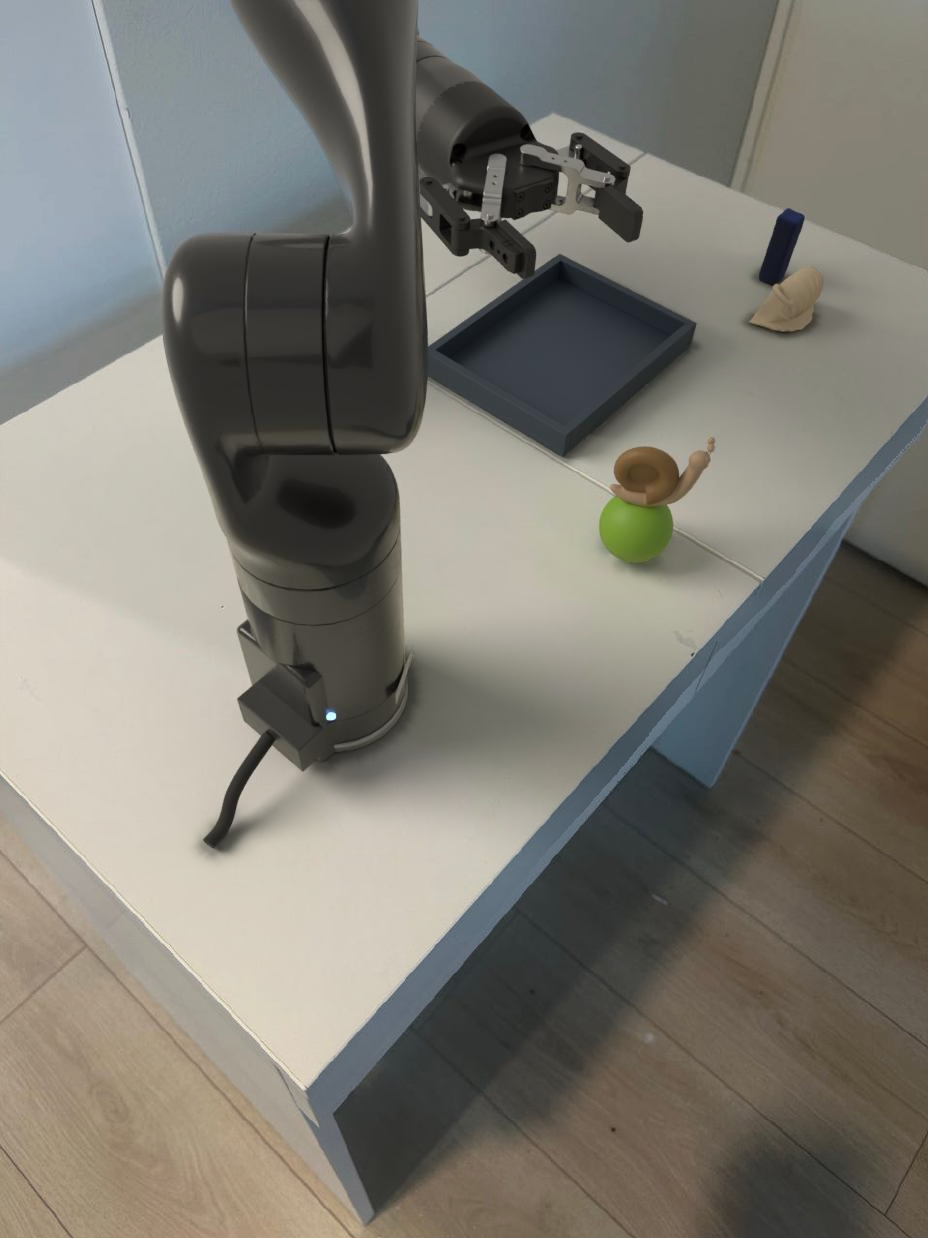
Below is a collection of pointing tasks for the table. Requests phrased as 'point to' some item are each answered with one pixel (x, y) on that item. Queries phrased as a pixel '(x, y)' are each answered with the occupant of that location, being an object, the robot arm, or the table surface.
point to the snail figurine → (646, 501)
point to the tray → (559, 352)
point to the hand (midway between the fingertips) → (585, 246)
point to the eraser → (781, 246)
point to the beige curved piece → (791, 301)
